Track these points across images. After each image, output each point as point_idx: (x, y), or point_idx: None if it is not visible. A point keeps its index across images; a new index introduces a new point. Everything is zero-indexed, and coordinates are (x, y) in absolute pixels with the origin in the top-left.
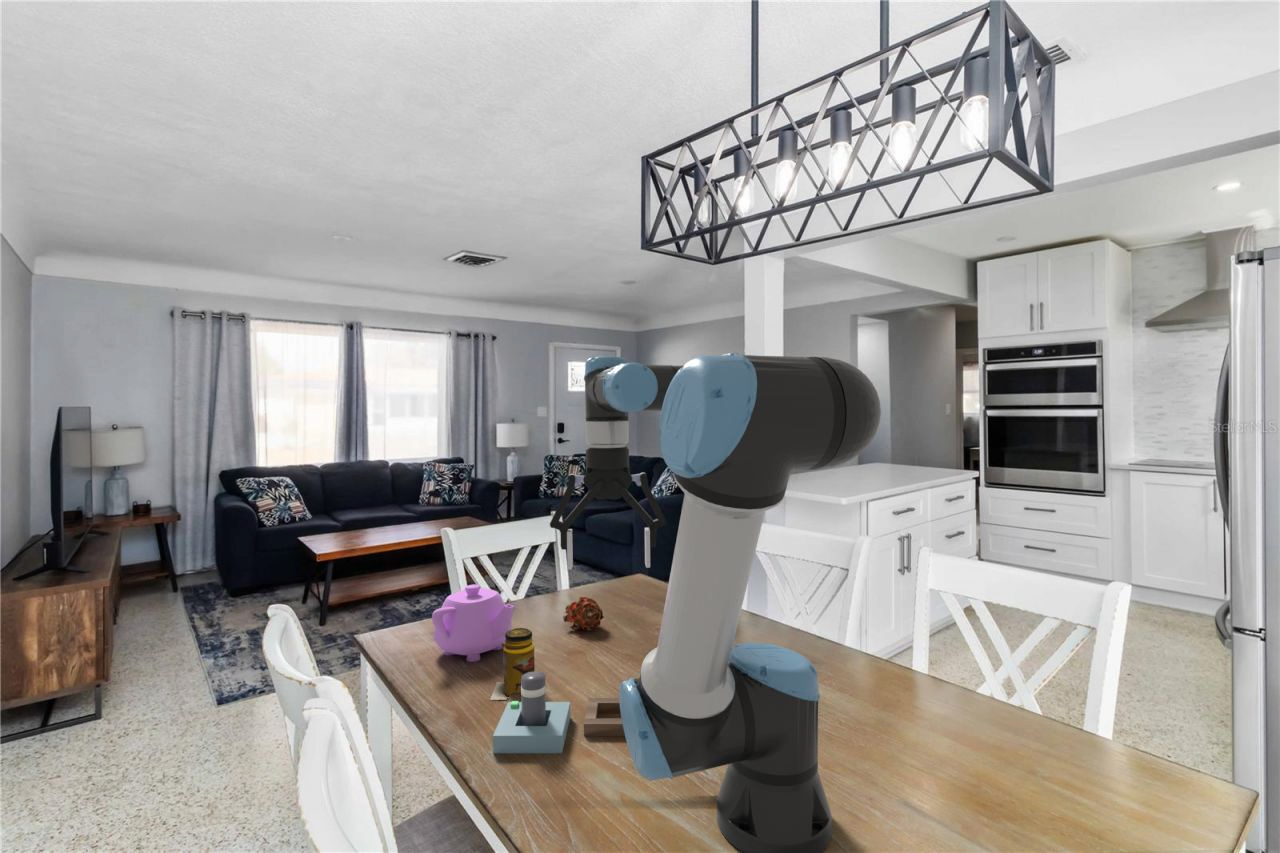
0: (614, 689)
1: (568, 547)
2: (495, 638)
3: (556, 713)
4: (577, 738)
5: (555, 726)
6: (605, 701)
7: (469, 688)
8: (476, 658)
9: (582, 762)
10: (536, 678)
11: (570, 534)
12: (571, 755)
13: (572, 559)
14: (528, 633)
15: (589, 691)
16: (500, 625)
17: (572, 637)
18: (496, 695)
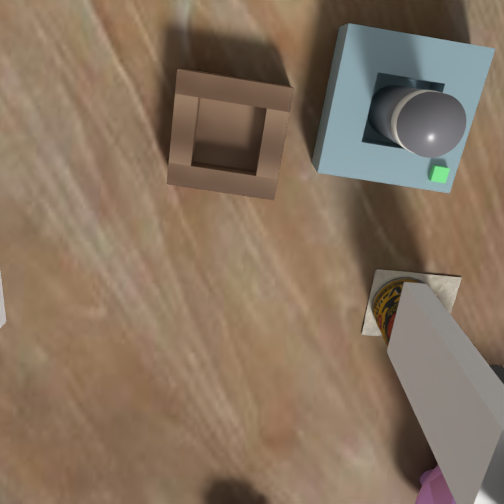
0: (212, 284)
1: (470, 352)
2: None
3: (351, 125)
4: (302, 105)
5: (359, 67)
6: (239, 179)
7: (496, 329)
8: None
9: (299, 12)
10: (427, 114)
11: (499, 415)
12: (319, 42)
13: (400, 361)
14: None
15: (263, 284)
16: None
17: (280, 500)
18: (447, 293)
